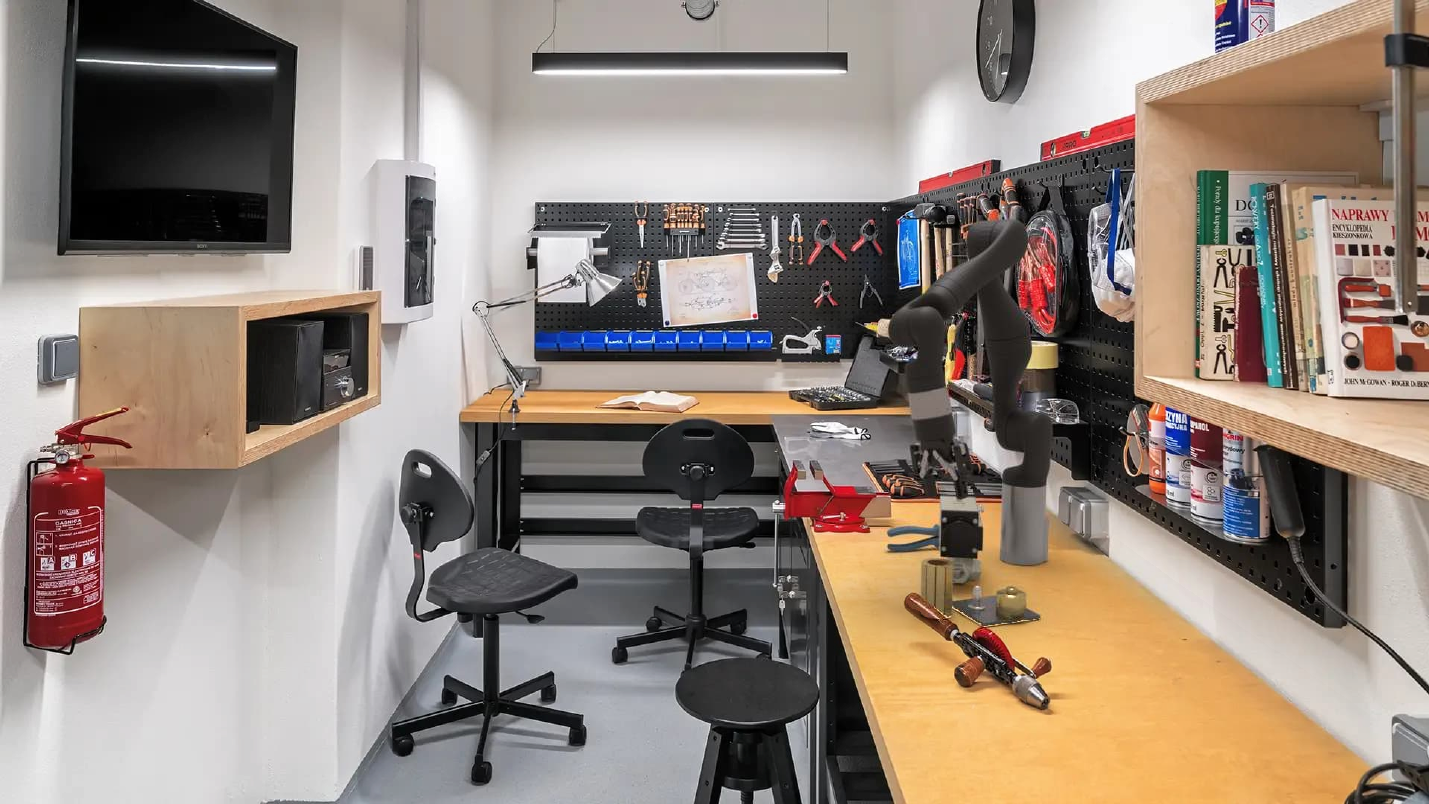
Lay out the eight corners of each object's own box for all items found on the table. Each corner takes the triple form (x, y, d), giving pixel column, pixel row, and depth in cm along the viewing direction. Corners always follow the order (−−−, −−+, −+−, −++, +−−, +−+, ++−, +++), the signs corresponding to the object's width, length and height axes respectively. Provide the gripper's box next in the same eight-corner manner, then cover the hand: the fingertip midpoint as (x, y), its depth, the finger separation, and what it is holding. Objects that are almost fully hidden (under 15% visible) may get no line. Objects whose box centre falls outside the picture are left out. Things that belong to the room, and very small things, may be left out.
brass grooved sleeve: (928, 607, 179) (929, 556, 177) (957, 613, 175) (958, 561, 174) (915, 615, 174) (916, 563, 173) (944, 622, 171) (946, 569, 170)
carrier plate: (1001, 598, 183) (1002, 573, 182) (1040, 619, 172) (1041, 593, 171) (947, 605, 180) (948, 580, 179) (983, 627, 168) (984, 600, 168)
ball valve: (984, 594, 185) (986, 506, 183) (939, 592, 187) (941, 504, 185) (978, 567, 203) (981, 486, 201) (938, 565, 205) (940, 485, 202)
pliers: (967, 545, 219) (968, 521, 218) (971, 548, 217) (972, 523, 216) (885, 550, 216) (885, 525, 215) (888, 553, 214) (889, 528, 213)
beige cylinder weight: (1014, 608, 176) (1015, 582, 175) (1031, 617, 171) (1032, 591, 170) (990, 611, 174) (991, 585, 173) (1007, 621, 169) (1008, 594, 168)
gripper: (972, 408, 172) (988, 494, 173) (922, 410, 185) (937, 490, 186) (941, 417, 169) (957, 505, 170) (892, 418, 181) (907, 500, 182)
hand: (947, 497), depth 178 cm, fingers open, 8 cm apart
